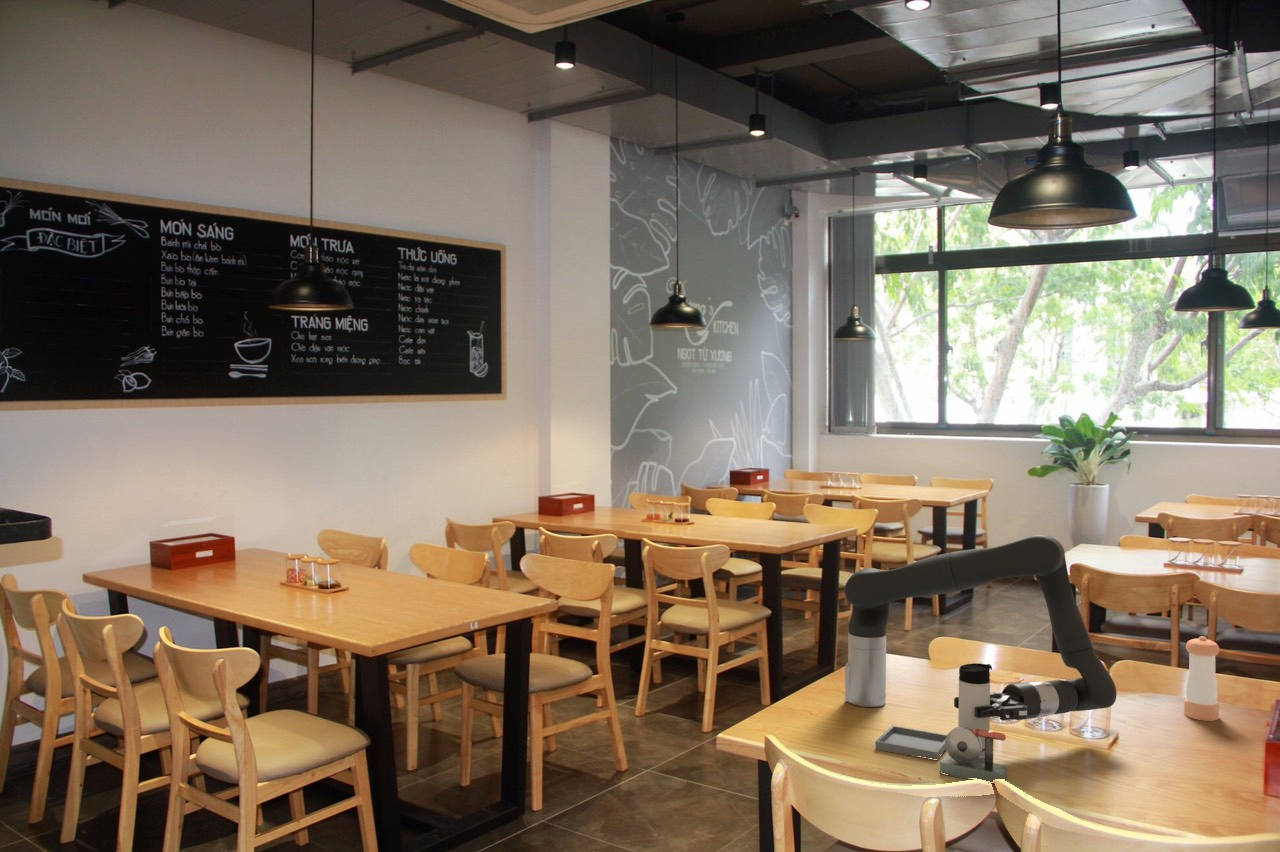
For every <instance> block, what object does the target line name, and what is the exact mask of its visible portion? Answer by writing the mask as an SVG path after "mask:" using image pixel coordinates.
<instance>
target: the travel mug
mask: <svg viewBox="0 0 1280 852" xmlns="http://www.w3.org/2000/svg"><path fill="white" fill-rule="evenodd" d="M958 670H959V671H958V672H959V673H958V697H959V708H958V714H957V715H958V717H957V718H958V725H957V727H967V728H970V729H972V730H974V729H980V730H986V731H991V730H990V728H991V727H990V725H991V724H990V721H991V720H990V717H985V718H976V717H975V716H974V709H975V707H978V706H987V705H990V693H991V679H990V677H991V673H990V670H993V667H992V665H991V664H989V663H986V664H985V663H975V662H974V663H966V664H962V665H960V667H959V668H958ZM980 739H981V742H982V751H981V754H980V755H979V757H978V758H977V759H976V760H978V761H984V762H985V738H984V737H980Z"/></svg>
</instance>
